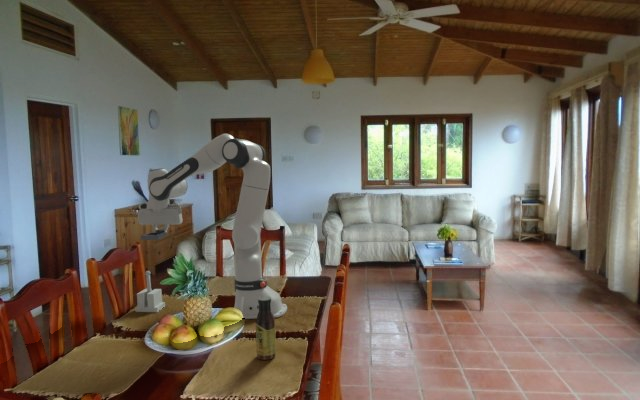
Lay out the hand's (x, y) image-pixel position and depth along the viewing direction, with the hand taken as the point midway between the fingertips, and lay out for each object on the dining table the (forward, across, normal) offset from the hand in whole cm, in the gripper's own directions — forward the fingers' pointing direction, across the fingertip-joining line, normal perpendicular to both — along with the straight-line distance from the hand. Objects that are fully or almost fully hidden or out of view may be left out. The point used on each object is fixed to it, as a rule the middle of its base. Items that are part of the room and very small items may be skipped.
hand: (161, 234), depth 208 cm
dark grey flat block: (+1, 0, +4) cm, 4 cm away
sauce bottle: (+30, -62, +56) cm, 89 cm away
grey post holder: (+30, 0, +14) cm, 34 cm away
